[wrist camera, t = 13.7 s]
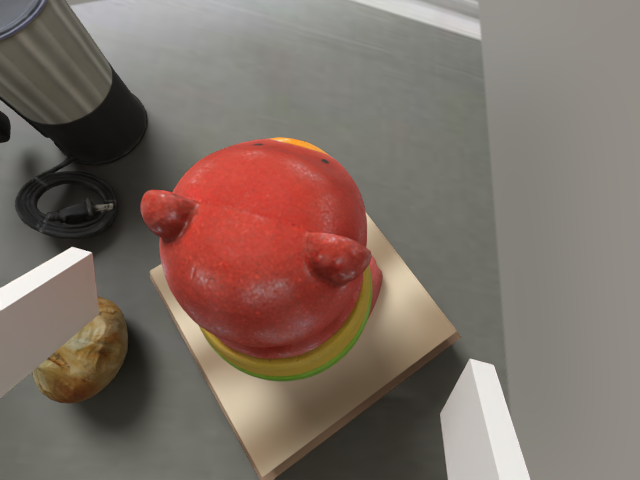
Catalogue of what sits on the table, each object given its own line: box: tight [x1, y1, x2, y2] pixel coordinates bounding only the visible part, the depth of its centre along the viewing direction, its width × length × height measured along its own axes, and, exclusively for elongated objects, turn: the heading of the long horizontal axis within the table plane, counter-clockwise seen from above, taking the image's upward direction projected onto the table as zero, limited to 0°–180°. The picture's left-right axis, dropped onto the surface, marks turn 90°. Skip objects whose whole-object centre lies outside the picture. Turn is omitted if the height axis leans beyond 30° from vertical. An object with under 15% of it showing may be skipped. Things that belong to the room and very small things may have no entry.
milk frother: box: [0, 0, 147, 240], centre depth 30 cm, size 14×16×15 cm
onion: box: [32, 297, 128, 403], centre depth 27 cm, size 8×8×8 cm
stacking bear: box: [141, 137, 383, 381], centre depth 18 cm, size 11×10×18 cm
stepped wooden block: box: [149, 213, 461, 480], centre depth 29 cm, size 18×18×6 cm
